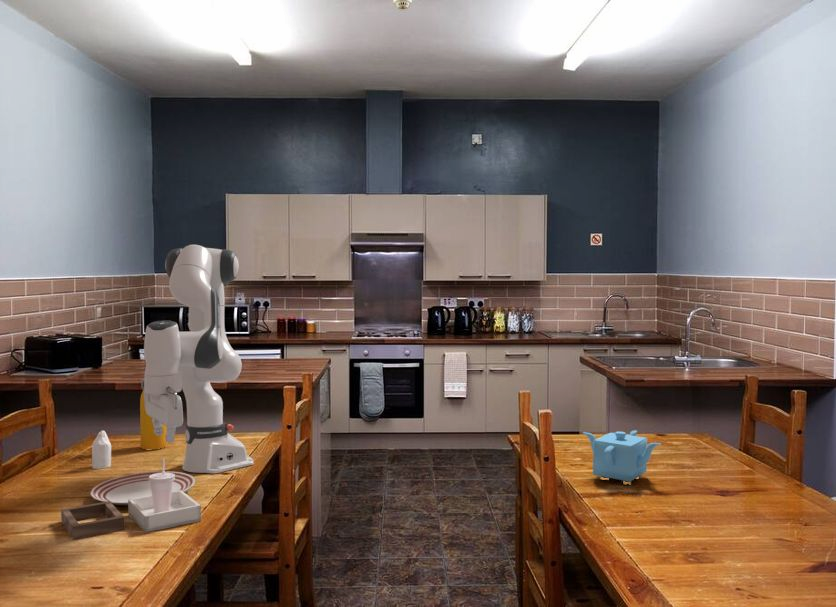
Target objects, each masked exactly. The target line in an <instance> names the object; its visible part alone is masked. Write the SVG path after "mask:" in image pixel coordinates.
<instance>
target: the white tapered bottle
mask: <svg viewBox="0 0 836 607" xmlns="http://www.w3.org/2000/svg"><path fill="white" fill-rule="evenodd" d="M91 450H92V451H91V453H92V454H91V465H92V466H91V468H92V469H93V470H102V468H103V469H107V467H108V468H110V467H112V444H111V441H110V440H109V437H108V434H107V433H106V431H105V430H101V431H99V432H98V434H97V436H96V437H95V439H94V440H93V442H92V444H91Z"/></svg>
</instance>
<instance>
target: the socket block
mask: <svg viewBox="0 0 836 607" xmlns="http://www.w3.org/2000/svg"><path fill="white" fill-rule="evenodd" d="M60 512H61V514H60V517H61V520H60V521H62V522H61V523H62V524H63V526H64V528H65V530H66V531H67V533H68V534H69V535H70V537H71V539H72V541H73V540H77V538H79V539H83V537H84V538H88V536H89V537H93V535H94V536H98V534H99V535H103V534H108V533H112V532H118V531H123V530H125V516H124V515H123V514H122V513H121V512H120V511H119V509H118V508H117V507H116V506H115V504H112V503H111V502H110V501H107V502H101V501H100V502H96V503H90V504H85V505H80V506H74V507H69V508H63V509H61V511H60ZM101 515H102V516H105V517H106V518H103V519H97V520H93V521H86V522H81V523H79V522H78V521H79V520H85V519H91V518H90V517H92V518H95V516H97V517H101ZM122 529H123V530H122Z"/></svg>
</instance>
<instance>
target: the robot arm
mask: <svg viewBox="0 0 836 607" xmlns="http://www.w3.org/2000/svg"><path fill="white" fill-rule="evenodd" d="M164 265H165V267H164V268H165V270H166V275H167V277H168V278H169V283H168V284H169V285H168V288H169V292H170V294H171V296H172V297H173V298H174V299H175V300H176V301H177V302H179V303H180V304H182V305H183V306H185V307H188V330H189V331H180V330H179V325H178V323H177V322H176V321H172V320H156V321H153V322H150V323H148V325H146V328H145V334H144V335H145V336H144V344H143V357H144V361H145V370H144V378H143V379H142V380H141V389H142V390H144V402H145V410H146V413H147V415H149V416H150V417H152V421H153V425H154V433H155V434H156V435H162V434H163V428H162V424H163V425H165V426H166V430H167V433H166V435H165V438H166V442H168V444H171V443H174V442H175V434H176V431H177V428H179V427H182V426H183V423H184V411H183V401H182V398H181V396H180V395H178V393H180V392H183V394H184V397H185V402H186V416H187V417H186V421H187V424H186V425H185V442H186V445H185V446H186V448H185V454H184V455H185V456H184V459H183V464H182V468H181V469H182V470H183V471H185V472H187V473H188V472H189V473H196V474H197V473H199V474H203V473H205V474H213V475H214V474H218V473H219V474H220V473H224V472H227V471H232V470H236V469H237V470H238V469H240V468H245V467H250V466H252V465H254V464H255V462H254V461H255V460H254V459H253V458H252V457H251V456H249V455H248V454H247V449H246V446H245V445H244V443H243V442H241V441H240V440H239V439H238V438H236V437H234V436H233V435H231V434H230V433H229V432H232V431H233V430H234V428H235V427H234V425H232V424H231V423H230V424H229V423H226V422H224V420H223V419H224V418H223V417H224V416H223V415H224V412H223V410H224V405H223V404H224V402H223V399H222V397H221V395H219V394H218V393H217V392H216V391H215V390H214V389H213V387H212V385H211V383H217V384H221V383H228V382H233V381H235V380H237V379H238V377H239V376H240V374H241V371H242V368H243V364H242V359H241V356H240V355H239V353H238V352H237V351H236V350H234V349H233V347H232V346H231V344H230V342H229V339H228V338H227V334H226V328H225V307H226V306H225V304H226V303H225V301H226V300H225V287H227V286H228V284H230V283H232V282H234V280H236V278H237V276H238V272H239V269H240V263H239V259H238V256H237V254H236V252H235V251H233V250H231V249H230V250H229V249H225V248H224V249H220V248H213V247H212V248H211V247H205V246H203V245H199V244H189V245H186V246H184V247H183V248H182V247H179V248H174V249H171V250H170V252H168V253H167V255H166V259H165V264H164Z"/></svg>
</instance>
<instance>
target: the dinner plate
mask: <svg viewBox="0 0 836 607" xmlns="http://www.w3.org/2000/svg"><path fill="white" fill-rule="evenodd" d="M165 472H168V473H173V474H175V479H174V480H173V489H172V491H178V490H182V491H183V492H184V493H186V492H188V491H189V490H191V488H192V487H193V486H194V485H195V483H196V479H195V477H194V476H193V475H191V474H187V473H185V472H180V471H169V470H167V471H165ZM156 473H162V470H160V471H159V470H157V471H156V470H154V471H143V472H136V473H135V472H134V473H130V474H126V475H125V474H124V475H122V476H121V475H120V476H117V477H114V478H111V479H109V480H105V481H103V482H100V483H99V484H97V485H96V486H94V487H93V488H92V490H90V496H91V497H92V499H94V500H96V501H98V502H100V503H101V502H107V501H110V502H111V503H112V504H113V505H118V506H125V507H128V499H133V498H139V497H145V496H150V495H152V492H151V485H150V482H149V476H150V475H153V474H156Z"/></svg>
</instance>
